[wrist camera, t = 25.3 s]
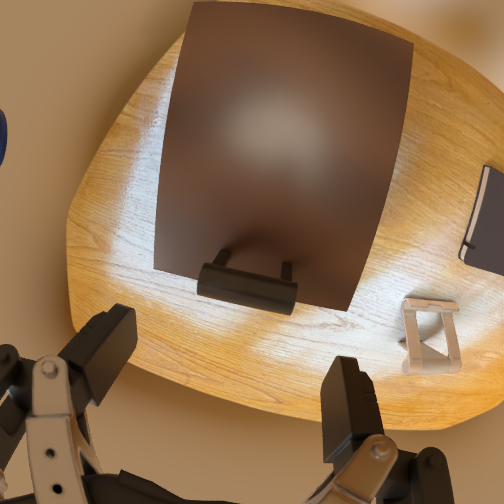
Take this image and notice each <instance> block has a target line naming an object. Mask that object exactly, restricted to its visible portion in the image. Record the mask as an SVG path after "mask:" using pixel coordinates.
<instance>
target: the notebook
mask: <svg viewBox="0 0 504 504" xmlns="http://www.w3.org/2000/svg"><path fill="white" fill-rule="evenodd" d="M459 259H460V260H462V261H464V263H465V264H466V265H469V266H473V267H476V268H479V269H483V270H486V271H489V272H493V273H496V274H499V275H502V276H504V174H502V173H501V172H499V171H498V170H496V169H494V168H493V167H491V166H487V165H484V166H483V171H482V176H481V181H480V185H479V189H478V193H477V197H476V201H475V205H474V208H473V212H472V215H471V219H470V222H469V225H468V228H467V232H466V235H465V238H464V240H463V243H462V246H461V249H460V252H459Z"/></svg>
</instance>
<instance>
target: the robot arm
mask: <svg viewBox="0 0 504 504" xmlns="http://www.w3.org/2000/svg"><path fill="white" fill-rule="evenodd" d="M137 339H138V336H137V325H136V312H135V309H134V308H131V307H128V306H125V305H122V304H119V303H116V304H115V305H114V306H113V307H112V308H111V309H110V310H109V311H108V312H104V311H103V312H101V313H99V314H97V315H95V316H93V317H92V318H91V319H90V320H89V321H88V322H87V323H86V325H85V326H83V328H82V329H81V330H80V332H78V333H77V334H76V335H75V336H74V337H73V338H72V340H71V341H70V342H69V343H68V344H67V345H66V346H65V347H64V348H63V350H62V351H61V352H60V353H59V354H58V355H57V356H55V355H47V356H44V357H41V358H40V359H39V360H38V361H34V360H30V359H25V358H22V357H20V356H19V353H18V351H17V349H16V348H15V347H14V346H12V345H9V344H3V345H0V400H1V398H2V397H3V396H4V394H5V392H6V391H7V392H8V394H9V395H8V396H7V398H6V399H5V400H4V402H3V403H2V405H1V406H0V504H238V503H232V502H227V501H199V500H198V501H197V500H185V499H182V498H180V497H178V496H176V495H175V494H173V493H171V492H169V491H167V490H166V489H164V488H162V487H160V486H159V485H157V484H155V483H154V482H152V481H149V480H146V479H143V478H141V477H139V476H136V475H134V474H131V473H129V472H126V471H124V470H122V469H121V471H120V473H119V475H117V474H103V471H102V468H101V465H100V462H99V460H98V458H97V456H96V453H95V450H94V447H93V443H92V438H91V434H90V429H89V424H88V419H87V414H86V409H85V408H86V406H87V405H88V403H91V404H93V405H95V406H97V407H98V406H99V405H100V403H101V401H102V400H103V398H104V397H105V395H106V394H107V392H108V390H109V389H110V387H111V386H112V384H113V382H114V381H115V379H116V378H117V376H118V375H119V373H120V371H121V370H122V368H123V367H124V365H125V364H126V362H127V361H128V359H129V358H130V356H131V355H132V353H133V352H134V350H135V348H136V345H137ZM320 396H321V413H322V432H323V462H324V463H333V467H334V470H333V471H332V472H331V473H330V474H329V475H328V476H327V477H326V479H325V480H324V481H323V482H322V483H321V484H320V485H319V486H318V487H317V488H316V490H315V491H314V492H313V493H312V494H311V495H310V496H309V497H308V498H307V499H306V500H305V501H304V502H303V503H302V504H371V501H372V500H373V498H374V497H376V504H454V497H453V491H452V485H451V479H450V474H449V469H448V465H447V460H446V457H445V455H444V454H443V452H441V451H440V450H439V449H437V448H435V447H427V448H425V449H423V450H422V451H421V452H419V453H418V454H417V453H412V452H408V451H403V450H400V449H398V448H397V446H396V444H395V443H394V441H393V440H392V439H391V438H389V437H387V436H385V434H384V429H383V424H382V420H381V415H380V411H379V406H378V403H377V398H376V394H375V390H374V386H373V382H372V380H371V379H370V378H369V376H368V375H367V373H366V372H363V371H360V370H359V366H358V361H357V359H356V358H353V357H345V356H336V358H335V359H334V361H333V363H332V365H331V367H330V369H329V371H328V373H327V375H326V377H325V378H324V380H323V383H322V386H321V392H320ZM25 432H26V438H27V449H28V458H29V466H30V472H31V478H32V483H33V488H34V493H31V494H27V495H23V496H19V497H15V498H10V499H4V495H3V492H4V491H6V490H7V483H6V482H5V477H4V474H3V472H4V470H5V468H6V466H7V464H8V462H9V460H10V458H11V456H12V455H13V453H14V451H15V449H16V447H17V446H18V444H19V442H20V440H21V439H22V437H23V435H24V433H25Z"/></svg>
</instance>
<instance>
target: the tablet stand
mask: <svg viewBox="0 0 504 504" xmlns="http://www.w3.org/2000/svg"><path fill="white" fill-rule="evenodd" d="M416 311H425V312H438V313H441V317H442V321H443V325H444V330H445V335H446V340H447V346H448V351H449V354H448V357H446V356H445V355H443V354H441V353H440V352H438V351H436V350H434V349H433V348H431V347H429V346H428V345H426V344H424V343H420V337H419V331H418V325H417V320H416ZM453 311H459V307H458V306H457V304H456V303H453V302H442V301H432V300H422V299H413V298H405V299H404V300H403V302H402V313H403V320H404V326H405V333H406V341H407V343H405V342H398V345H400V346H401V347H403V348H404V349H405V350H407V351H408V355H407V357H406V358H405V359H404V361H403V363H402V374H403V375H404V376H416V375H438V374H452V373H458V372H459V371H460V369H461V366H462V362H461V356H460V350H459V345H458V340H457V335H456V331H455V326H454V322H453V318H452V317H453V315H452V312H453Z"/></svg>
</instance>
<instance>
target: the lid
mask: <svg viewBox="0 0 504 504" xmlns="http://www.w3.org/2000/svg"><path fill="white" fill-rule="evenodd" d="M412 57H413V43H411V42H408V41H406V40H404V39H401V38H399V37H396V36H394V35H391V34H389V33H386V32H383V31H381V30H378V29H375V28H372V27H369V26H366V25H363V24H360V23H357V22H353V21H350V20H346V19H343V18H339V17H335V16H331V15H327V14H323V13H318V12H313V11H308V10H303V9H297V8H291V7H284V6H277V5H269V4H258V3H245V2H194V4H193V7H192V11H191V14H190V17H189V21H188V24H187V28H186V31H185V35H184V39H183V43H182V47H181V51H180V55H179V59H178V64H177V68H176V73H175V78H174V83H173V88H172V93H171V98H170V104H169V109H168V115H167V121H166V128H165V134H164V141H163V149H162V157H161V165H160V174H159V184H158V195H157V208H156V222H155V242H154V269H157V270H160V271H164V272H168V273H172V274H176V275H180V276H184V277H188V278H192V279H196V280H198V282H197V294H198V295H200V296H204V297H208V298H212V299H216V300H220V301H225V302H229V303H233V304H238V305H242V306H246V307H251V308H255V309H260V310H265V311H269V312H274V313H279V314H284V315H289V316H290V315H291V314H292V312H293V309H294V306H295V302H299V303H304V304H309V305H314V306H319V307H324V308H329V309H335V310H340V311H345V312H347V310H348V308H349V305H350V303H351V300H352V298H353V295H354V293H355V290H356V288H357V285H358V282H359V280H360V277H361V274H362V272H363V269H364V266H365V263H366V261H367V258H368V255H369V252H370V249H371V246H372V243H373V240H374V237H375V234H376V231H377V228H378V224H379V221H380V218H381V214H382V211H383V208H384V204H385V201H386V197H387V193H388V190H389V186H390V182H391V178H392V174H393V170H394V166H395V162H396V157H397V153H398V148H399V143H400V139H401V134H402V128H403V123H404V117H405V112H406V105H407V99H408V92H409V84H410V76H411V67H412Z"/></svg>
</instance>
